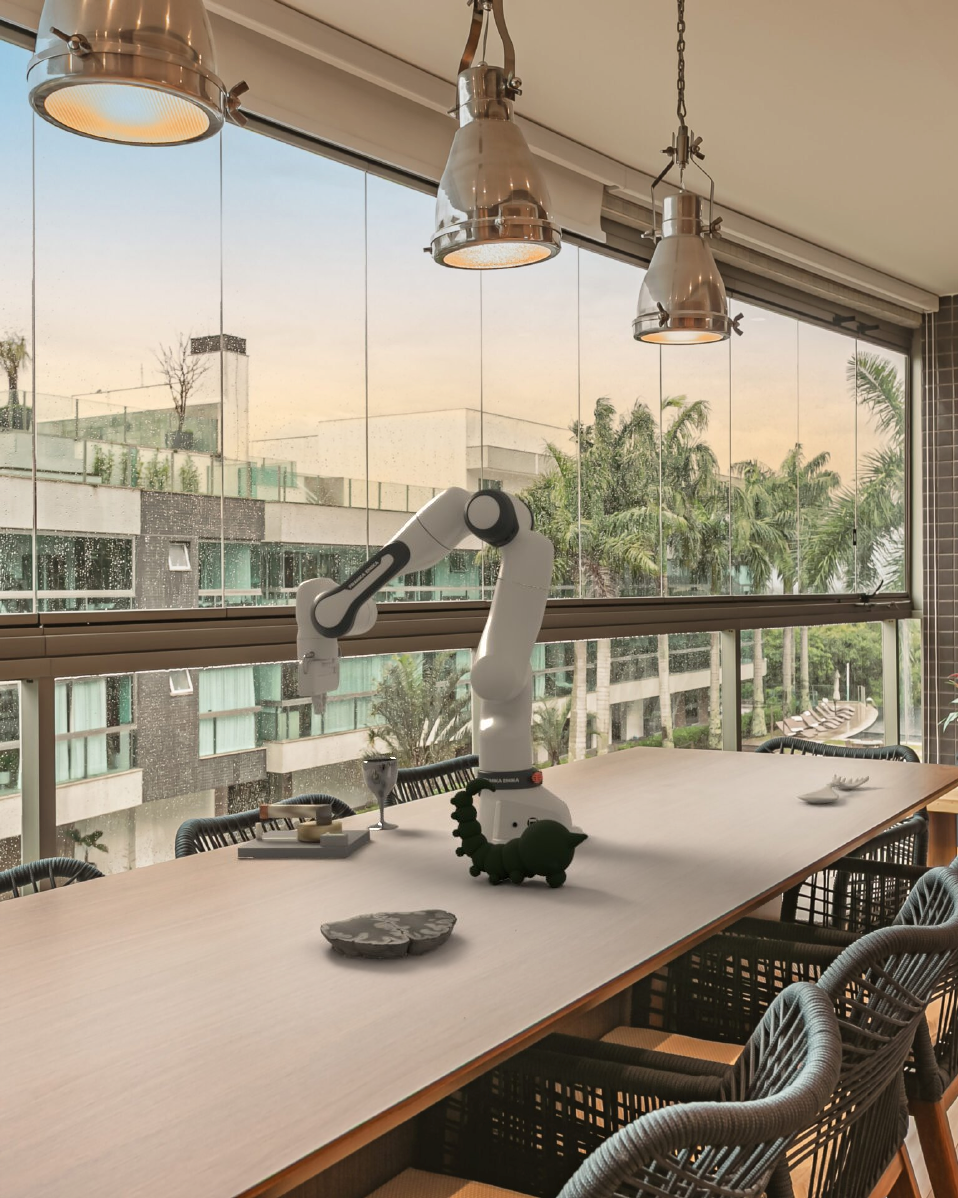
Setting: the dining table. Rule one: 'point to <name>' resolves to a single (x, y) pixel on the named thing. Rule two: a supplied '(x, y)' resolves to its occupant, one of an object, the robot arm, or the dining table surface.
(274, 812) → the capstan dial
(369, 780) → the wine glass
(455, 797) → the toy figurine
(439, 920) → the brain slice
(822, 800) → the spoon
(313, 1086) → the dining table surface
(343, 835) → the stand
